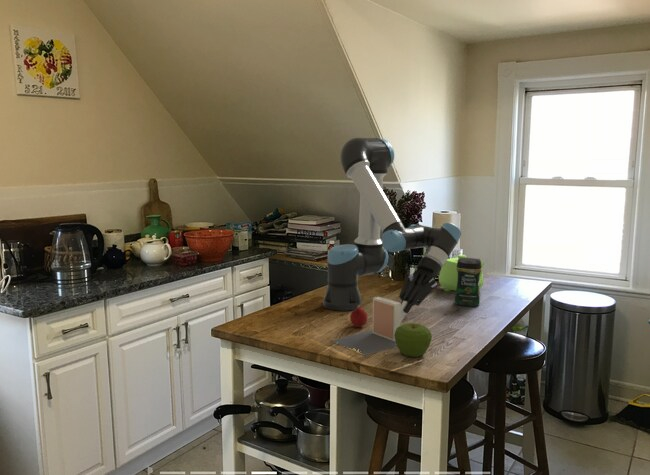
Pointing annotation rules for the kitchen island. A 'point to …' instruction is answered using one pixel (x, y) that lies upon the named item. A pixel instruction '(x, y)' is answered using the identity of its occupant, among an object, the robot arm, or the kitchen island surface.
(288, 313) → the kitchen island surface
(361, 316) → the red pomegranate
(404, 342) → the apple
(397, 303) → the tile
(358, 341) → the mat
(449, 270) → the teapot
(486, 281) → the kitchen island surface
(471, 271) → the coffee jar
